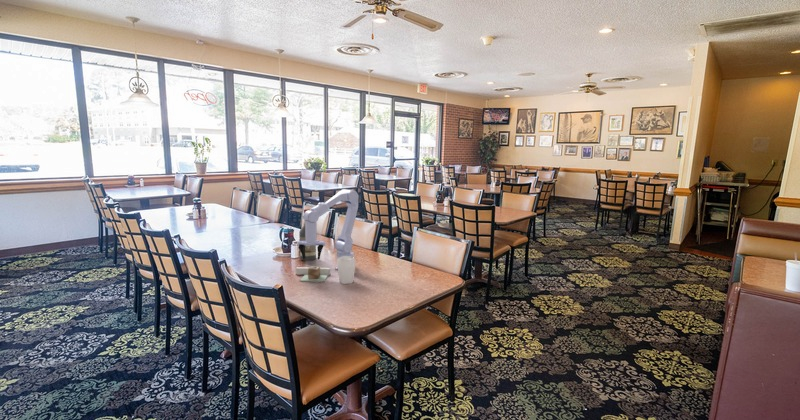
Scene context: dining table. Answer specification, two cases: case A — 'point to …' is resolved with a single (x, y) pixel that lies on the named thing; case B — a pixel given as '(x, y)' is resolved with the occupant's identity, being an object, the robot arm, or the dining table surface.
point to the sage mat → (321, 279)
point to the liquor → (307, 246)
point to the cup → (346, 269)
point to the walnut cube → (314, 272)
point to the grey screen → (305, 270)
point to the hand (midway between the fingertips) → (311, 258)
